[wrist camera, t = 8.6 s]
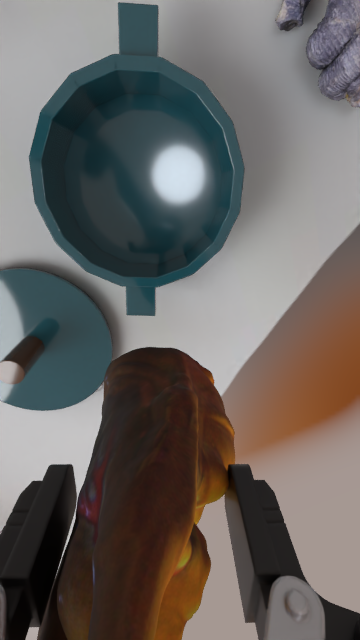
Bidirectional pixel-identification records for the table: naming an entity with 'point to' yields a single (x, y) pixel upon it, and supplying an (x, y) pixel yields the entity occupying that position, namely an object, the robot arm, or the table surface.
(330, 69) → the seashell
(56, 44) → the table surface
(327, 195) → the table surface
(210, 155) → the pot
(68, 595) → the figurine
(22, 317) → the lid
